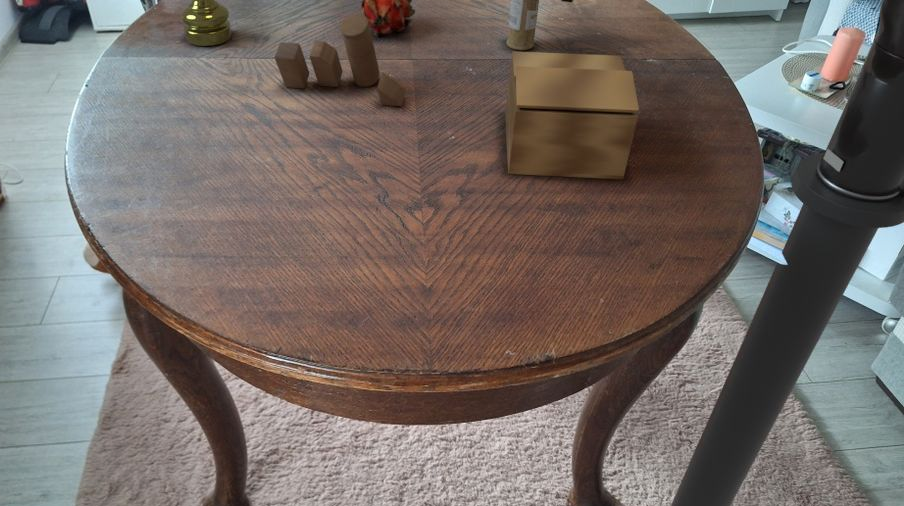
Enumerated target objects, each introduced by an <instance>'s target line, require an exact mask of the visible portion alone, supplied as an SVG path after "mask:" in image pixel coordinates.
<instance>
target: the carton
mask: <svg viewBox="0 0 904 506" xmlns="http://www.w3.org/2000/svg"><path fill="white" fill-rule="evenodd" d="M516 66H523V67H547V68H571V69H596V70H620V71H626V69H625V65H624V61H623V59H622V57H621V55H611V54H585V53H565V52H564V53H563V52H561V53H559V52H539V51H538V52H535V51H514V50H513V51H512V54H511V59H510V66H509V75H508V85H507V95H506V102H505V103H506V104H505V113H504V118H505V121H504V122H505V139H506V140H505V141H506V156H507V157H506V158H507V159H506V160H507V174H508V175H521V176H522V175H523V176H524V175H525V176H543V177H563V178H567V177H568V178H584V179H603V180H624V178H625V174H626V169H627V166H628V162H629V157H630V154H631V150H632V149H631V148H632V145H633V140H634V136H635V132H636V127H637V123H638V121H639V115H638V113H629V112H607V111H584V110H562V109H539V108H517V107H516Z"/></svg>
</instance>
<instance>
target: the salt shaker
mask: <svg viewBox="0 0 904 506" xmlns="http://www.w3.org/2000/svg"><path fill="white" fill-rule="evenodd" d="M180 14H181V15H180V16H181V19H182V21H183V23H184V25H183V30H184V34H185V39H186V41H187V42H188V43H189V44H192V45H194V46H199V47H212V46H218V45H221V44H224V43H226V42H228V41H229V40H230V39H231V38H232V29H231V22H230V21H229V20H228V19H229V15H230V13H229V10H228V7H226V6H225V5H224V4H222V3H219V2H218V0H191V1H190V2H189V3H188V5H187V6H185V8H183V9H182V11H181V13H180Z"/></svg>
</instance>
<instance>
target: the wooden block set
mask: <svg viewBox="0 0 904 506" xmlns="http://www.w3.org/2000/svg"><path fill="white" fill-rule="evenodd" d="M340 32H341V36H342V39H343V40H342V41H343V44H344V46H345V47H344V48H345V50H346V55H347V58H348V62H349V66H350V69H351V73H352V77H353V81H354V82H355V84H356V85H358V86H359V87H362V88H367V87H371V86H373V85H375V84H376V82H377V81H378V80H379V82H378V85H377V92H378V97H379V101H380V105H381V106H391V107H392V106H393V107H403V102H404V98H405V95H406V91H407V90H406V88H404V87H403V86H402V85H401V84H400V83H398V82H397V81H395V80H394V79H393V78H392V77H390V76H389V75H388V74H386V73H385V72H383V71H382V72H381V75H380V69H379V63H378V58H377V55H376V54H377V53H376V49H375V45H374V42H373V36H372V32H371V26H370V25H369V22H368V19H367V18H366V17H365V16H364V15H363V13H359V12H355V13H351V14H349V15H347V16H345V17H344V19H342V21H341V24H340ZM309 59H310V63H311V66H312V69H313V70H314V75H315V78H316V80H317V84H318V86H321V87H322V86H323V87H333V88H338V87H339V86H340V82H341V78H342V76H343V72H344V71H343V68H342V65H341V62H340V57H339V54H338V50H337V48H335V47H334V46H332V45H331V44H329V43H328V42H326V41H324V40H314V41H313V44H312V47H311V51H310V53H309ZM274 61H275V63H276V66H277V69H278V71H279V73H280V76H281V79H282V81H283V84H284V86H285V87H286V88H292V89H293V88H294V89H305V88H306V85H307V82H308V79H309V77H310V70H309V67H308V64H307V61H306V59H305V56H304V52H303V50H302V46H301V44H300V43H295V42H282V41H281V42H279V44H278V47H277V50H276V52H275V55H274Z"/></svg>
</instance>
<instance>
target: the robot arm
mask: <svg viewBox="0 0 904 506" xmlns="http://www.w3.org/2000/svg"><path fill="white" fill-rule="evenodd" d="M560 1H561V2H565V3H574V0H560ZM824 152H825V153H824ZM824 152H823V153H824V155H823V157H822V159H821V161H820V163H819V165H818V167H817V169H816V175H817V178H818V179H819V181H820V182H821V183H822V184H823V185H825V186H826V187H827V188H829V189H830V190H832V191H834V192H836V193H838V194H840V195H842V196H845V197H848V198H851V199H855V200H859V201H865V202H885V201H890V200H892V199H894V198H896V197H904V0H881V3H880V9H879V26H878V30H877V32H876V35H875V36H874V39H873V41H872V43H871V46H870V48H869V50H868V52H867V55H866V57H865V59H864V62H863V64H862V67H861V69H860V71H859V74H858V76H857V78H856V80H855V82H854V85H853V86H852V89H851V91H850V94H849V96H848V98H847V101H846V103H845V106H844V107H843V110H842V112H841V115H840V116H839V120H838V122H837V124H836V126H835V128H834V130H833V133H832V135H831V137H830V140H829V142H828V144H827V147H826V148H825V151H824Z"/></svg>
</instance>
